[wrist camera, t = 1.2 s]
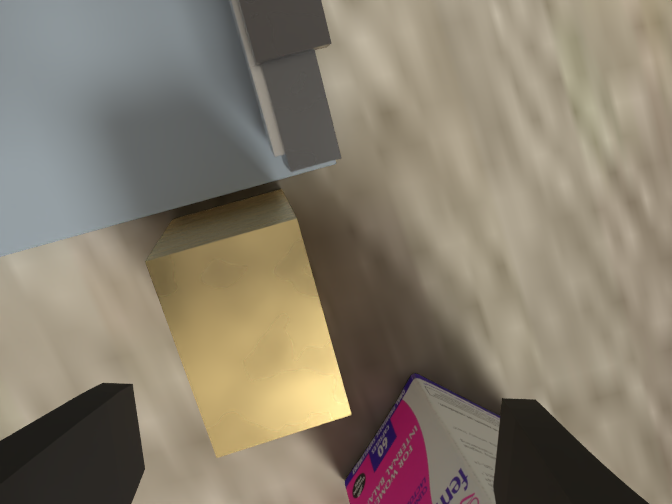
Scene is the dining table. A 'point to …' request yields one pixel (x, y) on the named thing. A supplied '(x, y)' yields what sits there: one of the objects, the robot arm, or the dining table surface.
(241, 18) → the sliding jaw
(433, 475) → the supplement box
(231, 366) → the brass block
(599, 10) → the dining table surface
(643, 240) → the dining table surface
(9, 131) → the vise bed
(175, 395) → the dining table surface
